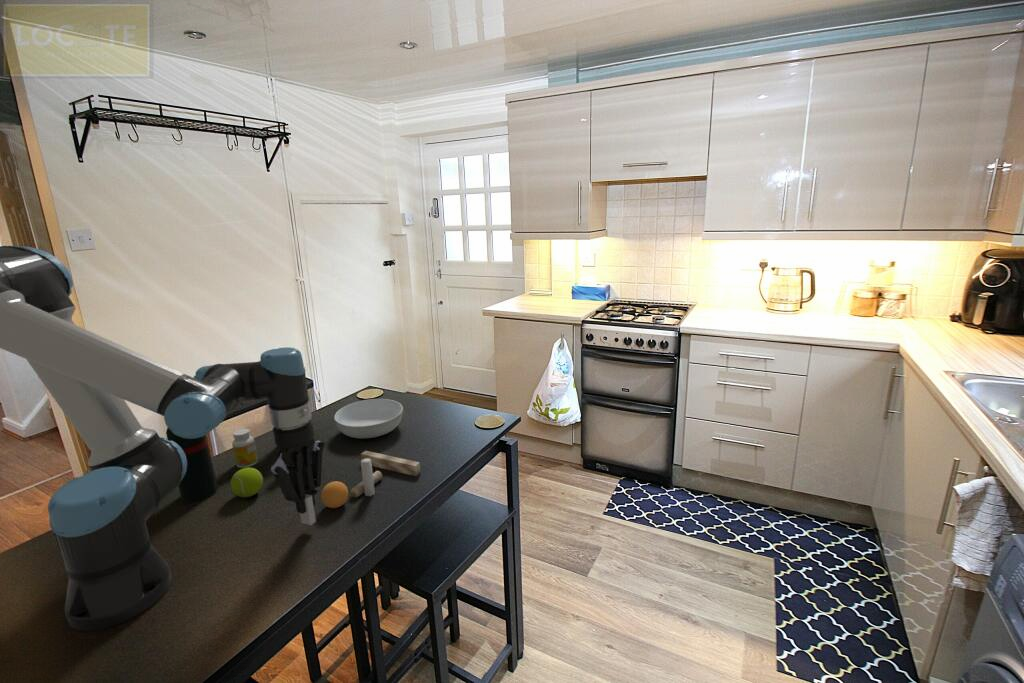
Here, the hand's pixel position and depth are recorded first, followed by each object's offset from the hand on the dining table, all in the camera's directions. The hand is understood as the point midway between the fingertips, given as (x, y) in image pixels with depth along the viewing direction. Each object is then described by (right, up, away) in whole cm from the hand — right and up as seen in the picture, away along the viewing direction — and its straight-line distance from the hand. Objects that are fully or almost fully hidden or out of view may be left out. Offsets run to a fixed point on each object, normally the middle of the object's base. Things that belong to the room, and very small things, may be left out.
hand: (308, 522), depth 105 cm
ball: (+3, +3, +8) cm, 9 cm away
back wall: (+12, +5, +25) cm, 28 cm away
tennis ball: (-21, +1, +15) cm, 26 cm away
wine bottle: (-35, +1, +15) cm, 38 cm away
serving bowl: (0, +11, +48) cm, 49 cm away
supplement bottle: (-30, +5, +30) cm, 43 cm away
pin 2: (+6, +3, +12) cm, 14 cm away
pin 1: (+9, +2, +13) cm, 16 cm away
